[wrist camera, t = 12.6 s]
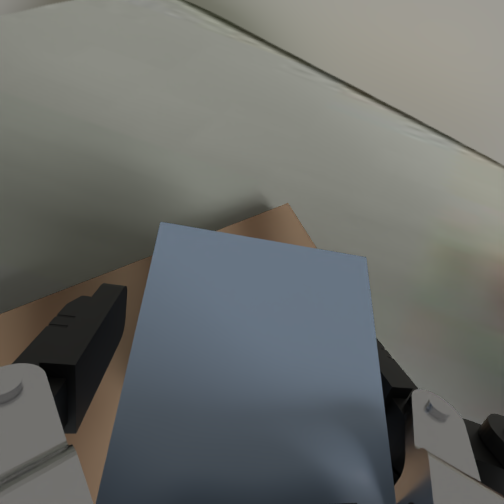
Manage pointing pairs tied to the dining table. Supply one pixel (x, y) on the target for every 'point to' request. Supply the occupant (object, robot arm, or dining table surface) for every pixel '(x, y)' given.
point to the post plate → (134, 277)
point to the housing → (250, 379)
